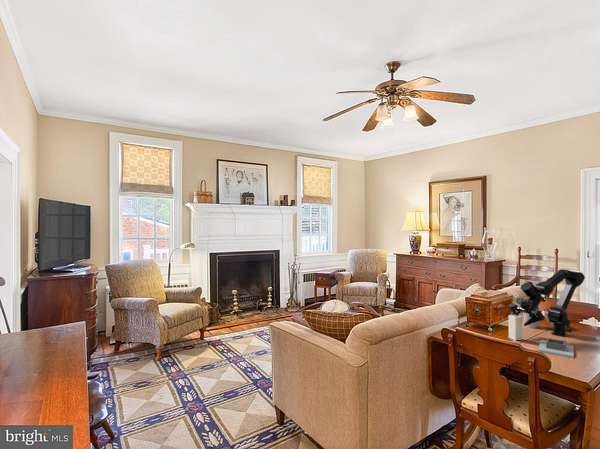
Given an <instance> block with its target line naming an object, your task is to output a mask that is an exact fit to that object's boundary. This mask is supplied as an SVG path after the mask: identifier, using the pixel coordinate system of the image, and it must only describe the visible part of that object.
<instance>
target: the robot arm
mask: <svg viewBox="0 0 600 449" xmlns="http://www.w3.org/2000/svg"><path fill="white" fill-rule="evenodd" d="M585 278H586V277H585V275H584V273H583V272H580V271H572V270H569V269H564V268H561V269H558V271H557V272H556V273H555V274H553V275H552V276H551V277H549V278H548V279H547V280H545V281H541V282H538V283H536V284H534V283H533V282H532V281H527V282H525V283H523V284H521V285H520V290H521V291H522V292H523V293H524V294H525V296H526V297H528V298H521V297H516V299H515V303H509V305H508V306H507V307H508V308H509V310H510V315H518V316H520V314H521V313H527V314H529V317H528V319H527V320H526V322H525V323H524V322H523V323H524V324H523V326H524V327H526V326H527V325H529V324H532V323H535V322H541V321H542V322H543V321H544V320H545V315H544V314H543V312H541V310H540V309H539V310H535V309H538V305H540V304H541V302H542V303H545V302H546V299H545V296H546V297H547V296H550V294H552V292H554V288H555V287H556V286H557V285H559V284H560V283H561V282H562V281H565V284H564V287H563V290H562V291H561V294H560V296H559V298H558V301H557V302H556V304H555V305H554V306H553V305H551V306H549V309H548V310H547V311H548V318H549V323H550V322H552V323H553V324H552V323H551V324H552V326H553V328H552V329H553V330H552V332H551V333H550V334H551V335H554V336H560V337H567V335H568V333H567V332H566V331H567V330H566V326H567V327H569V326H570V325H571V321H570V319H569V318H568V312H567V308H568V306H569V304H570V302H571V301H572V300H571V299H572V298H573V295H574V294H575V292H576V289H577V288H578V287H579V286H581V285H582V284H583V282H584V281H585ZM542 295H543V296H542ZM518 305H519V306H518Z"/></svg>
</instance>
